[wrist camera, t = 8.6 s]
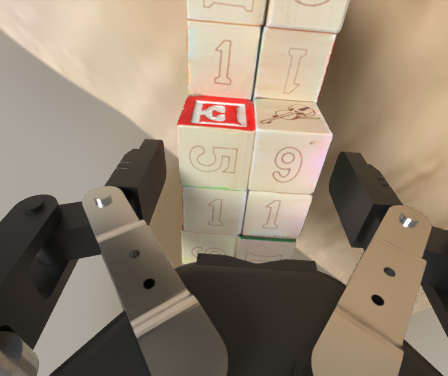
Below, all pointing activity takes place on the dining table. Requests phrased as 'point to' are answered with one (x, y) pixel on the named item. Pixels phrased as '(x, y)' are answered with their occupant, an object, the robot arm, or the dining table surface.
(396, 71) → the dining table surface
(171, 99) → the dining table surface
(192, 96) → the stack of blocks
